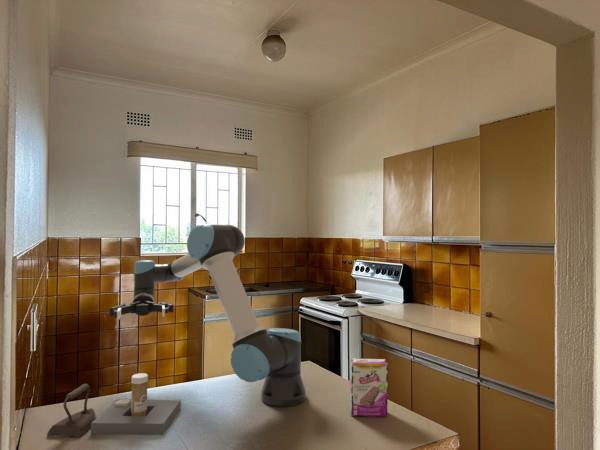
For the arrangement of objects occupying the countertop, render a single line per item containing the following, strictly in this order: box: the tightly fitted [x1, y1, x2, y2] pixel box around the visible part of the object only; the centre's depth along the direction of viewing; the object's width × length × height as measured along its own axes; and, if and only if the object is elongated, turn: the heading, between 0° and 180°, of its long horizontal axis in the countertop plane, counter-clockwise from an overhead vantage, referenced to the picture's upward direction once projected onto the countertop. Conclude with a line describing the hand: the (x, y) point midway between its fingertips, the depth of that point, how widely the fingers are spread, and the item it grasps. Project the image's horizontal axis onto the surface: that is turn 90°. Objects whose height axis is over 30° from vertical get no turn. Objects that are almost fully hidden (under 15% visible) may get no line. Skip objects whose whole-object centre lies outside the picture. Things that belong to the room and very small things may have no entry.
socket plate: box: [90, 399, 182, 436], centre depth 119 cm, size 20×16×4 cm
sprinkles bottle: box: [130, 372, 149, 416], centre depth 119 cm, size 5×5×14 cm
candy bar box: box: [349, 357, 389, 418], centre depth 125 cm, size 11×5×16 cm, turn 89°
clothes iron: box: [46, 383, 97, 439], centre depth 116 cm, size 14×10×11 cm
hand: (141, 314), depth 129 cm, fingers open, 13 cm apart
